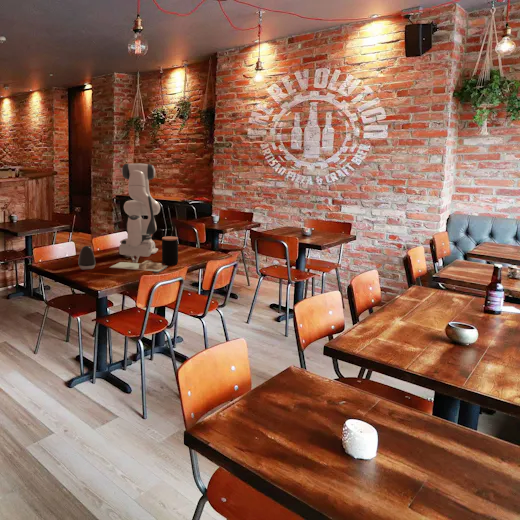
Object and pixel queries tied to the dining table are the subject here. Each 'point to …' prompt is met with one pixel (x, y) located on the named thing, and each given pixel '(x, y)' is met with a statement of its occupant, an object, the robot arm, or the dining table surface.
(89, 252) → the dark egg shaped speaker
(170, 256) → the coffee jar
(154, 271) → the board
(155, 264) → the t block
